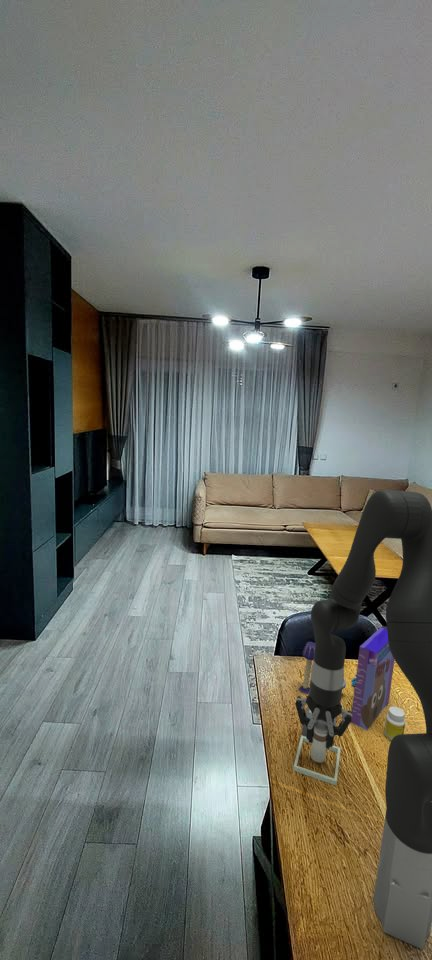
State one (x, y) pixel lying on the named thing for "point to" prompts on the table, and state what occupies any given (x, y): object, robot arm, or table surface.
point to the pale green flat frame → (312, 773)
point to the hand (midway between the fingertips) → (319, 743)
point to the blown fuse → (319, 741)
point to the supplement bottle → (394, 723)
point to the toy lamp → (307, 666)
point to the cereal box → (372, 679)
